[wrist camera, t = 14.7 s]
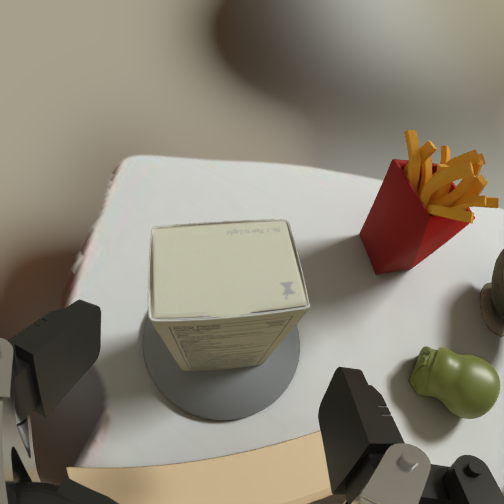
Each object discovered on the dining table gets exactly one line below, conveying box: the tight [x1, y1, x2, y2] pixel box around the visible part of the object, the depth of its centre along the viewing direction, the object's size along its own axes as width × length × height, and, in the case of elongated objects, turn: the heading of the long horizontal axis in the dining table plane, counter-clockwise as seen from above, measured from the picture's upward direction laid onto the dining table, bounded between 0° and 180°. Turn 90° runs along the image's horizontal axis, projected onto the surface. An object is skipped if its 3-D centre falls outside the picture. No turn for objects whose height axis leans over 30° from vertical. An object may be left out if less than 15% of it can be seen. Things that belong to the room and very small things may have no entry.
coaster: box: [143, 317, 300, 420], centre depth 22 cm, size 12×12×1 cm
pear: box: [409, 347, 500, 419], centre depth 21 cm, size 6×5×10 cm
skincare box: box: [148, 219, 310, 371], centre depth 17 cm, size 6×4×12 cm
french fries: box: [360, 130, 498, 275], centre depth 23 cm, size 9×8×15 cm
